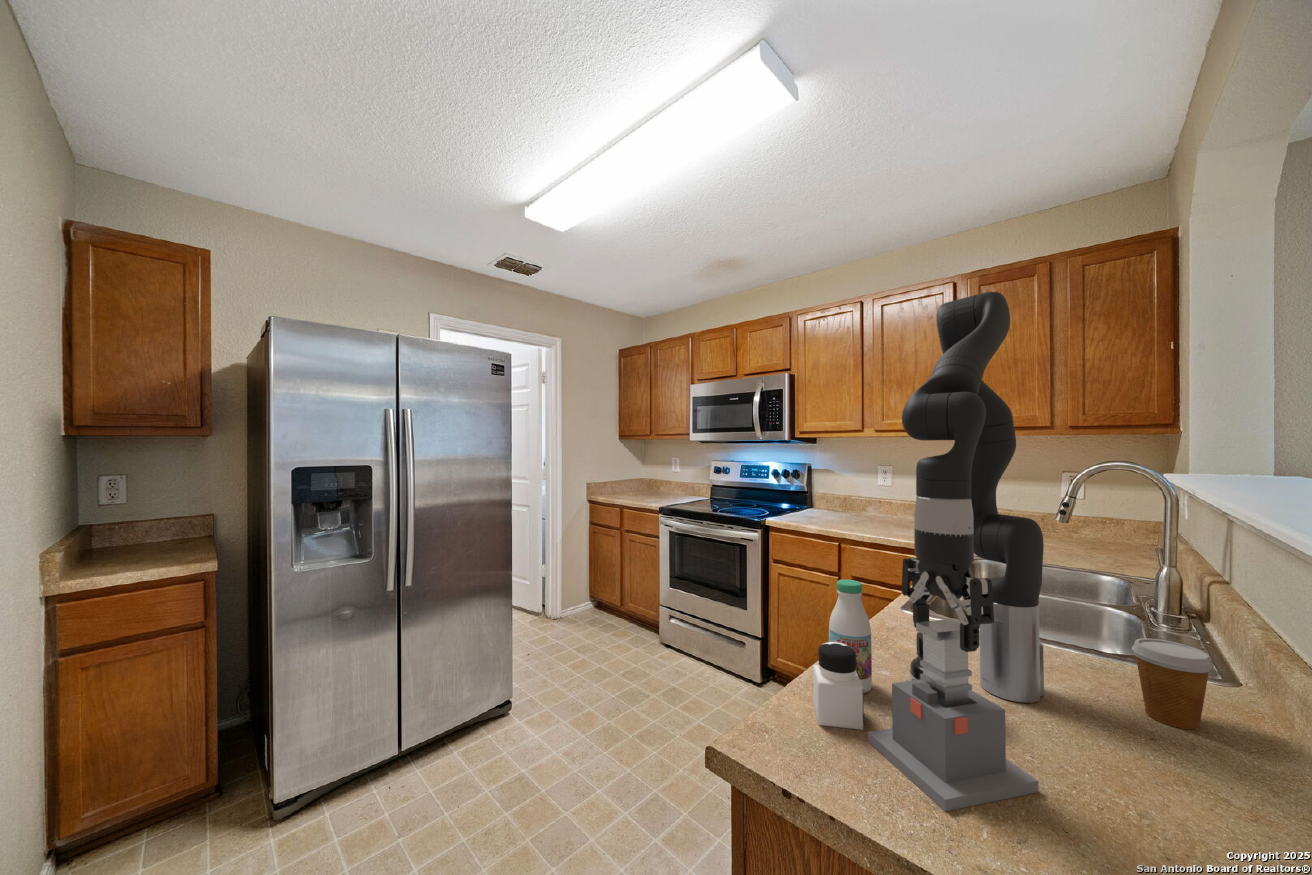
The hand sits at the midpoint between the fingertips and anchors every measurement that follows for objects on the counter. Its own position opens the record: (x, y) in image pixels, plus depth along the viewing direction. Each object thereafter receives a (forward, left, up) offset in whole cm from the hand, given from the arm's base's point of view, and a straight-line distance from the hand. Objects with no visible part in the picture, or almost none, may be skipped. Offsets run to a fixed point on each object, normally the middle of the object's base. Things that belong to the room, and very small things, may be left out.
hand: (943, 638), depth 71 cm
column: (0, 0, -16) cm, 16 cm away
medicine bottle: (+8, -15, -19) cm, 25 cm away
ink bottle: (-12, -14, -19) cm, 26 cm away
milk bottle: (-1, -24, -18) cm, 30 cm away
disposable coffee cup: (-47, -1, -18) cm, 51 cm away
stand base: (0, 0, -18) cm, 18 cm away
